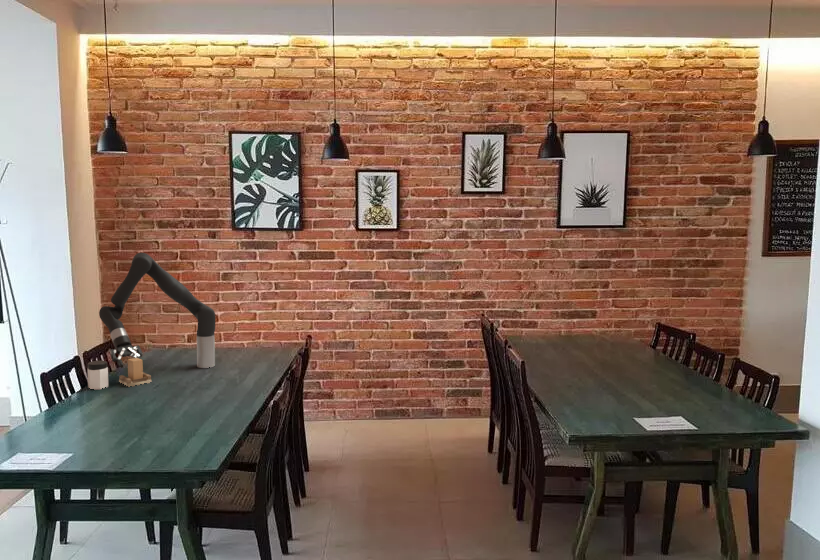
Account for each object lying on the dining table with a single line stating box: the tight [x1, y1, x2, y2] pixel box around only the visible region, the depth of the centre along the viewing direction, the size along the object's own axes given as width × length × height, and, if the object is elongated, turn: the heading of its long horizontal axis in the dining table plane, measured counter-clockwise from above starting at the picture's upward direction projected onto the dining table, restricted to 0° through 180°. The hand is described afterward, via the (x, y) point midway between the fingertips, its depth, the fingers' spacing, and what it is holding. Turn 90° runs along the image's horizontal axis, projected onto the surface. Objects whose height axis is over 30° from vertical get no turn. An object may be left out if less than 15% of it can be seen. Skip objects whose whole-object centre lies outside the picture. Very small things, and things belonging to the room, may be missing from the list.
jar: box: [87, 360, 109, 390], centre depth 277 cm, size 9×8×12 cm
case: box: [127, 357, 144, 381], centre depth 286 cm, size 6×4×10 cm
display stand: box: [118, 371, 153, 388], centre depth 286 cm, size 11×11×4 cm
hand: (131, 365), depth 288 cm, fingers open, 8 cm apart
